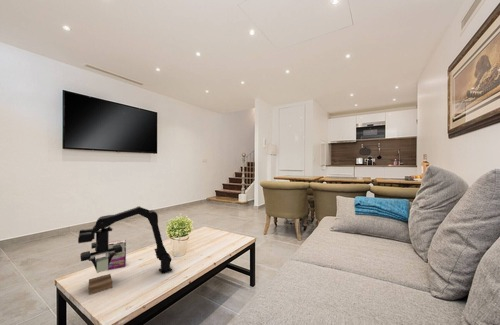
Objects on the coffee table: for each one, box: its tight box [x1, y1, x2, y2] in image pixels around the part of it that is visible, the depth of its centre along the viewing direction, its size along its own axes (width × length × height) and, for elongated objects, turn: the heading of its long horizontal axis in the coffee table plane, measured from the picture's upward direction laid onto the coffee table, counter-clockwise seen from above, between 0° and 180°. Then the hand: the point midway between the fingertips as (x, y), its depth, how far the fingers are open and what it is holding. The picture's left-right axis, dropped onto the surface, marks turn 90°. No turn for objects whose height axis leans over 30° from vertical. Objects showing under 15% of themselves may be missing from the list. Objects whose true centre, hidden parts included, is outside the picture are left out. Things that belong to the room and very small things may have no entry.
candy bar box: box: [105, 239, 127, 271], centre depth 137 cm, size 11×5×16 cm, turn 117°
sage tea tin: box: [95, 255, 109, 274], centre depth 115 cm, size 5×5×6 cm
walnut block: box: [88, 273, 113, 296], centre depth 114 cm, size 10×10×4 cm
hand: (102, 267), depth 115 cm, fingers closed on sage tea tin, 5 cm apart
